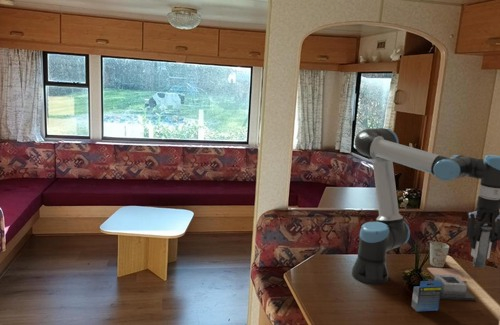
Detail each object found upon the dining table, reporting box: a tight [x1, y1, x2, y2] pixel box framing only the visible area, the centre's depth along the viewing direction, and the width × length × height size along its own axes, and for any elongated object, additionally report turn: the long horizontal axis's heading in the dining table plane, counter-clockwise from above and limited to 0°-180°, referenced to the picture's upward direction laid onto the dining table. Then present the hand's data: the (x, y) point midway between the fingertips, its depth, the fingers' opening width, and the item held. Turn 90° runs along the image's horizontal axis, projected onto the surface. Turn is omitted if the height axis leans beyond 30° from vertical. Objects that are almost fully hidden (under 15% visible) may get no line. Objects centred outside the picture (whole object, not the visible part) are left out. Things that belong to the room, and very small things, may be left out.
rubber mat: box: [427, 267, 467, 283], centre depth 184 cm, size 12×12×1 cm
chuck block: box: [431, 274, 476, 301], centre depth 169 cm, size 14×14×5 cm
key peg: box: [472, 223, 493, 269], centre depth 154 cm, size 5×5×16 cm
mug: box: [429, 241, 450, 268], centre depth 196 cm, size 8×13×10 cm, turn 145°
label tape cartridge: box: [410, 280, 442, 312], centre depth 153 cm, size 9×4×12 cm, turn 99°
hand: (479, 256), depth 155 cm, fingers closed on key peg, 4 cm apart
